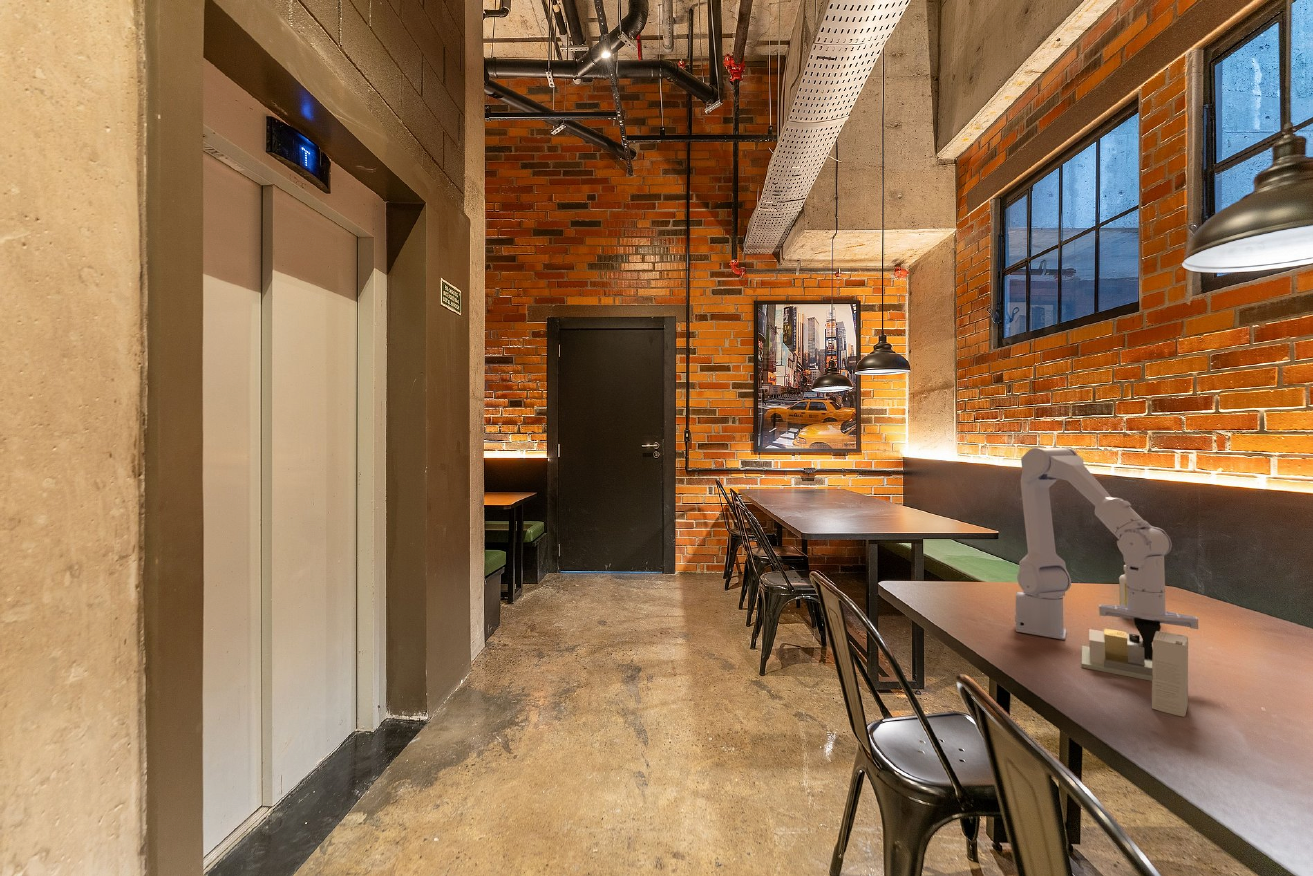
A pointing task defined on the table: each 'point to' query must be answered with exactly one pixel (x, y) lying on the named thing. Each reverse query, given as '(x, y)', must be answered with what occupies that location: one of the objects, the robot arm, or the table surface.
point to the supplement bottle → (1123, 589)
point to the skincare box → (1170, 673)
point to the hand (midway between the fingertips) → (1147, 657)
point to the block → (1116, 646)
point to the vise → (1096, 661)
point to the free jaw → (1135, 650)
